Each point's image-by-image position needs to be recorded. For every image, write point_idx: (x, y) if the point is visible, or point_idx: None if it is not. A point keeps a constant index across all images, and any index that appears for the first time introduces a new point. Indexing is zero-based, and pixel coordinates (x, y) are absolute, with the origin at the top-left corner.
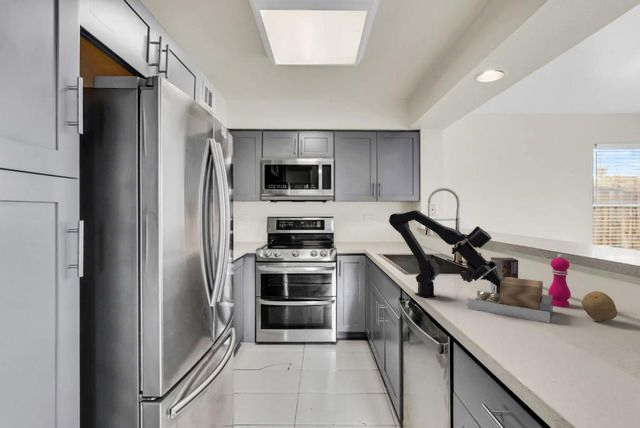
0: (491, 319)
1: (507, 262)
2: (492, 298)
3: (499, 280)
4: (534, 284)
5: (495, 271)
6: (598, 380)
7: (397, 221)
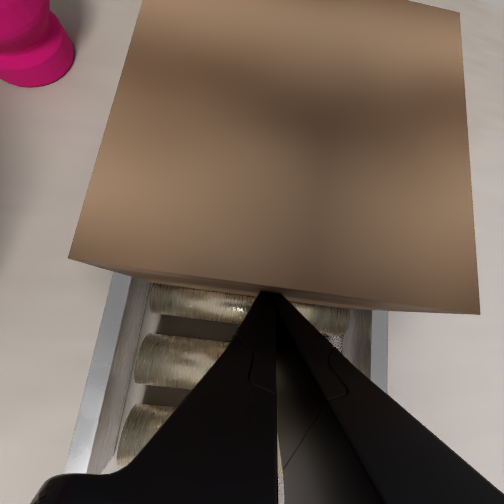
0: (456, 335)
1: None
2: (213, 359)
3: (309, 328)
4: (366, 27)
5: (273, 443)
6: None
7: None
